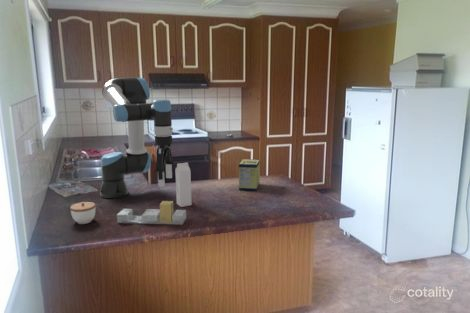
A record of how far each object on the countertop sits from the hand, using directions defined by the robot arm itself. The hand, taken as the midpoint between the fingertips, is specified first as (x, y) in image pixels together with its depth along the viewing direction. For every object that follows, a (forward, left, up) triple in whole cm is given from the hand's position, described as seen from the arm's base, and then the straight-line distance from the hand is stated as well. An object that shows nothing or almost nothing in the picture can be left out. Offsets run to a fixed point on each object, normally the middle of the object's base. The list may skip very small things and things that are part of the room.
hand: (165, 182), depth 171 cm
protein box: (+36, +57, -19) cm, 69 cm away
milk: (+3, +23, -19) cm, 30 cm away
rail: (-7, 0, -18) cm, 20 cm away
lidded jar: (-38, -3, -19) cm, 42 cm away
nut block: (0, 0, -18) cm, 18 cm away
